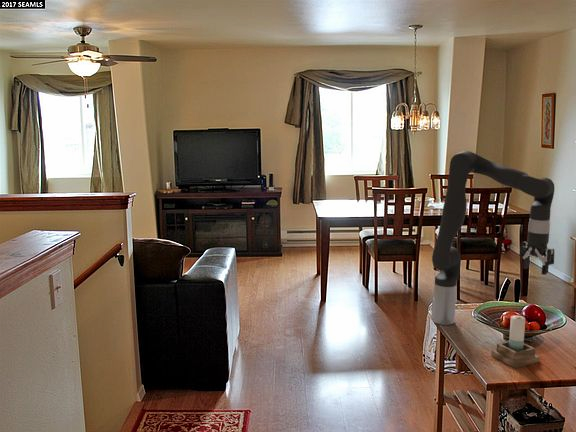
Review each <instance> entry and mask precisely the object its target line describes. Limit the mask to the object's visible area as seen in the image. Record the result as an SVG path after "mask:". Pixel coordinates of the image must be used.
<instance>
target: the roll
mask: <svg viewBox="0 0 576 432" xmlns="http://www.w3.org/2000/svg"><path fill="white" fill-rule="evenodd" d="M525 327H526V318H525V317H524V316H522V315H511V316H510V326H509V339H508V341H509V348H510V349H512V350H514V351H516V352H518V351H522V350H523V345H524V342H525V331H526V330H525Z"/></svg>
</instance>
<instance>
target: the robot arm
mask: <svg viewBox="0 0 576 432" xmlns="http://www.w3.org/2000/svg"><path fill="white" fill-rule="evenodd" d="M448 172H449V173H448V182H447V183H448V184H447V189H446V193H445V196H444V197H445V198H444V201H443V202H444V204H443V207H442V212H441V220H440V225H439V228H438V233H437V237H436V240H435V241H436V242H435V245H434V248H433V252H432V254H431V255H432V256H431V262H432V266H433V267H434V268H435V269H436V270H437V271H439V272H438V273H437V275H435V277H434V286H433V287H434V289H433V290H434V291H433V298H432V301H431V320H432V321H433V323H435V324H438V325H441V326H451V325H453V324H455V320H456V319H455V318H456V317H455V316H456V301H457V284H458V280H459V277H460V273H461V262H462V261H461V260H462V259H461V253H460V252H459V250H458V249H457V248H456V247H454V246H452V244H453V241H454V239H455V237H456V236H457V234H458V233H459V231H460V229H461V228H462V227H463V224H464V222H465V219H466V213H467V206H468V202H467V195H466V185H467V182H468V178H469V174H470V173H471V174H472V173H473V174H478V175H483V176H485V177H487V178H490V179H492V180H493V181H495V182H496V183H499V184H501V185H503V186H506V187H509V188H512V189H515V190H519V191H520V192H523V193H525V194H527V195H529V196H531V197H534V198H533V203H532V204H531V206H530V210H529V211H530V212H529V221H528V228H527V239H526V241H521V242H520V248H519V254H518V255H519V257H522V259H523V261H522V263H523V264H522V266H523V269H525V270H527V269H529V268H530V260H531V259H530V258H531V257H532V256H533V257H535V258H538V260H539V261H540V262H541V263H542V265H541V275H542V276H545V275H547V274H548V273H549V266H550V265H554V264H555V249H554V248H548V244H549V242H550V241H549V240H550V230H551V229H550V228H551V209H552V208H551V207H552V205H553V200H554V195H555V183H554V182H553V180H552V179H551V178H548V177H541V178H537V177H533V176H530V175H529V174H528V173H526V172H524V171H522V170H518V169H515V168H512V167H510V166H509V167H508V166H505V165H502V164H499V163H496V162H494V161H491V160H489V159H487V158H485V157H483V156H480V155H479V154H477V153H475V152H473V151H470V150H464V151H463V150H462V151H461V152H457V153H455V154H454V155H453V156H452V157H451V159H450V161H449V169H448Z"/></svg>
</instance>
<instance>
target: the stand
mask: <svg viewBox="0 0 576 432" xmlns="http://www.w3.org/2000/svg"><path fill="white" fill-rule="evenodd" d="M490 353H491V354H490V356H491V357H493V358H495V359H496V360H499V361H501V362H503V363H504V364H506V365H509V366H510V367H512V368H514V369H519V368H522V367H526V366H531V365H533V364H536V363H539V362H541V356H539V355H538V354H536V348H535V347H533V346H530V345H528V344H527V343H524V345H523V350H522V351H518V352H516V351H514V350H512V349H510V348H509V340H507V341H503V342H499V343H497V344H496V349H492V350H491V352H490Z"/></svg>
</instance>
